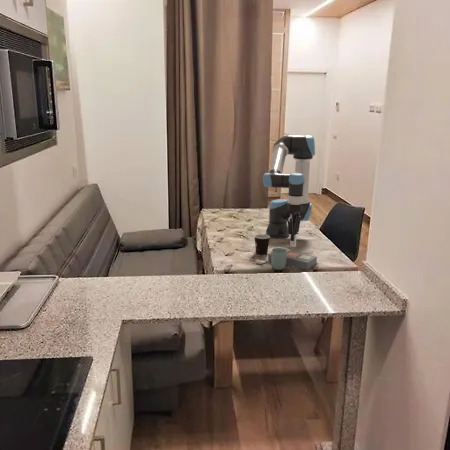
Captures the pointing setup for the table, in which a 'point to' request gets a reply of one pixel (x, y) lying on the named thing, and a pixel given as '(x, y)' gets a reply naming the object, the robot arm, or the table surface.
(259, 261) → the tile
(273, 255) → the cup
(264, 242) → the coffee mug
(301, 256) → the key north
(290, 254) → the key mid
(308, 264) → the keypad
